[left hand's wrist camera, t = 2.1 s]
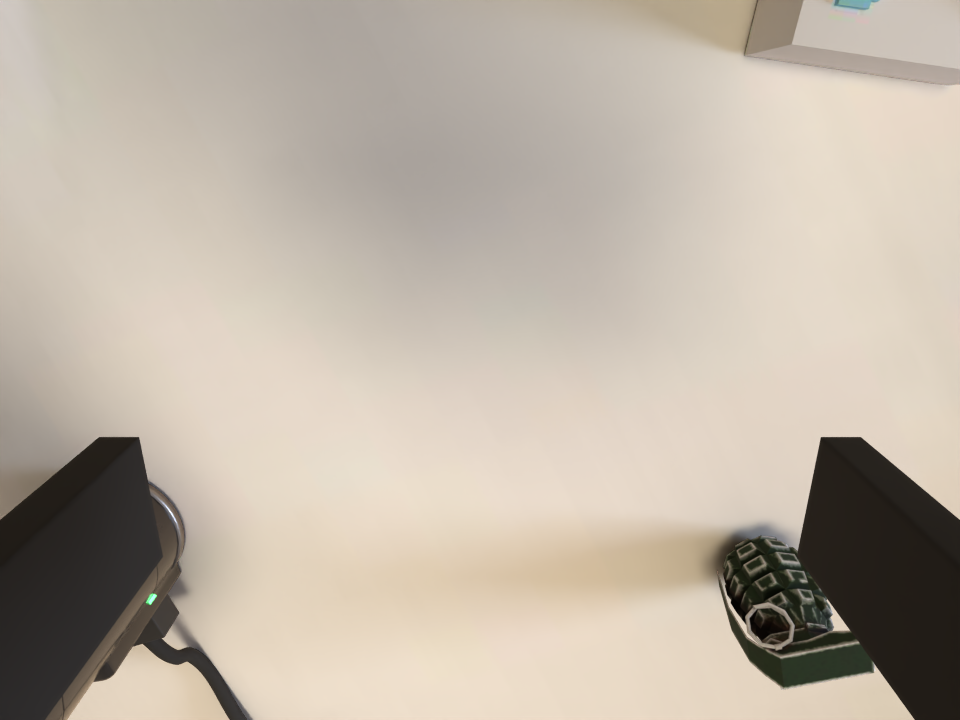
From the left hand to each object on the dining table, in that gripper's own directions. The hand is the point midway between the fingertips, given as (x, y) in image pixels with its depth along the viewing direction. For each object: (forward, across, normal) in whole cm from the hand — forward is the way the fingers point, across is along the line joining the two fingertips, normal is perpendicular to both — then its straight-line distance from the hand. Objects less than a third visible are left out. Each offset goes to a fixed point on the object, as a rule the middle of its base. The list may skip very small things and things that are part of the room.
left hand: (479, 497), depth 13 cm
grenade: (+28, +19, -22) cm, 41 cm away
